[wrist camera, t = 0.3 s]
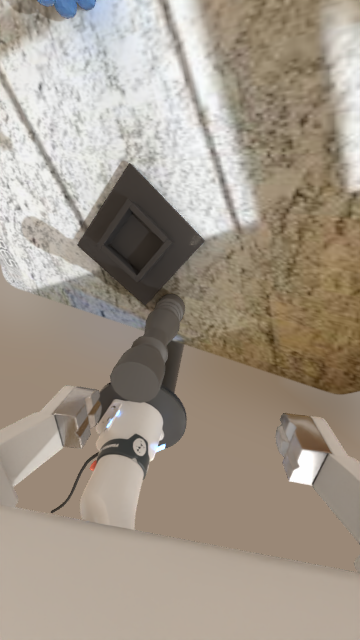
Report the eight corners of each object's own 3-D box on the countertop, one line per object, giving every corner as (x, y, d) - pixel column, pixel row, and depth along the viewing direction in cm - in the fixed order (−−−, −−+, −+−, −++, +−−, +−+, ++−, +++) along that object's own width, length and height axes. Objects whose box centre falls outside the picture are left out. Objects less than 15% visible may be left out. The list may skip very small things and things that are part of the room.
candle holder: (188, 298, 44) (168, 369, 21) (181, 323, 47) (156, 410, 24) (160, 290, 44) (111, 352, 21) (155, 315, 47) (105, 395, 24)
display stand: (146, 303, 46) (140, 310, 42) (81, 244, 42) (67, 246, 38) (204, 240, 39) (204, 241, 35) (132, 165, 36) (122, 156, 32)
